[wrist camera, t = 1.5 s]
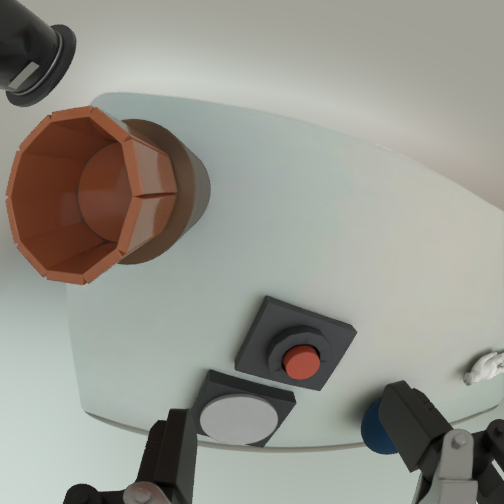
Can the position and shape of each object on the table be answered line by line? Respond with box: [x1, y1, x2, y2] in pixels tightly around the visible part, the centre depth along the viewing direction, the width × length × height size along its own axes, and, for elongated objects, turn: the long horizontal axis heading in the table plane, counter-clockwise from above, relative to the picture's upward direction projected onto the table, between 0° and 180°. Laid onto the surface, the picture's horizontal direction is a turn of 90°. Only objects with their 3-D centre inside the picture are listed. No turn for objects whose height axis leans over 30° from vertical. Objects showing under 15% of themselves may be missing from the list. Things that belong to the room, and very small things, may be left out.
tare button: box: [284, 345, 320, 380], centre depth 24 cm, size 3×3×1 cm
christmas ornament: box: [361, 399, 398, 455], centre depth 26 cm, size 8×8×10 cm
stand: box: [76, 119, 210, 265], centre depth 18 cm, size 8×8×10 cm
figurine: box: [463, 350, 504, 386], centre depth 30 cm, size 7×4×18 cm
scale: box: [191, 370, 296, 448], centre depth 28 cm, size 10×9×3 cm
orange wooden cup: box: [6, 106, 177, 285], centre depth 10 cm, size 6×6×6 cm
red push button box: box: [235, 296, 357, 391], centre depth 26 cm, size 10×8×3 cm
